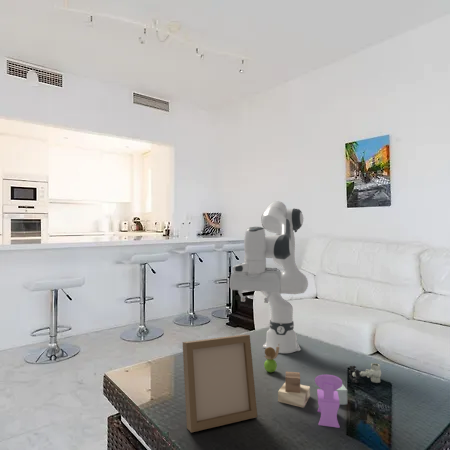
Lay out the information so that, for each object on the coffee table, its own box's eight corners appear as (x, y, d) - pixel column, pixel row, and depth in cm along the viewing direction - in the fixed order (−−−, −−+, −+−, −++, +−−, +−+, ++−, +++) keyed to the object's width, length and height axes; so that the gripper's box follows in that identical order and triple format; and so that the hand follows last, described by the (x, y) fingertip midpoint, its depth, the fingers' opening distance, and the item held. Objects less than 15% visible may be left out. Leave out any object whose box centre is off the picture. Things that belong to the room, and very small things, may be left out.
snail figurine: (279, 375, 142) (279, 346, 142) (263, 373, 143) (263, 344, 143) (279, 370, 147) (279, 342, 147) (264, 368, 148) (264, 340, 148)
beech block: (285, 392, 128) (285, 381, 128) (310, 397, 124) (310, 386, 124) (278, 402, 120) (278, 391, 120) (303, 409, 116) (303, 397, 116)
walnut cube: (285, 385, 124) (285, 371, 124) (299, 386, 123) (299, 372, 124) (285, 391, 119) (285, 377, 120) (300, 393, 118) (300, 378, 119)
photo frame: (257, 420, 108) (258, 340, 108) (191, 436, 99) (192, 348, 100) (237, 398, 121) (237, 327, 122) (177, 411, 113) (178, 334, 113)
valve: (375, 377, 141) (348, 379, 139) (375, 361, 141) (348, 362, 139) (385, 384, 134) (357, 386, 132) (385, 367, 134) (357, 369, 132)
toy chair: (340, 413, 112) (340, 367, 113) (343, 428, 104) (343, 378, 104) (314, 410, 114) (314, 364, 114) (314, 424, 106) (315, 375, 106)
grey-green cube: (328, 397, 123) (328, 383, 123) (342, 397, 123) (342, 383, 123) (332, 404, 118) (332, 390, 118) (347, 404, 118) (347, 390, 118)
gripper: (281, 267, 138) (281, 301, 138) (232, 265, 143) (231, 299, 143) (280, 268, 132) (280, 305, 132) (228, 267, 137) (228, 302, 136)
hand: (254, 301), depth 137 cm, fingers open, 8 cm apart
